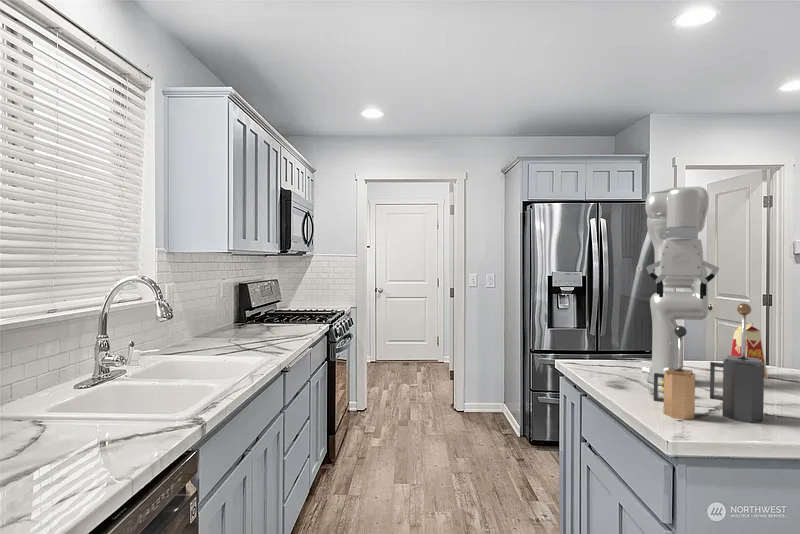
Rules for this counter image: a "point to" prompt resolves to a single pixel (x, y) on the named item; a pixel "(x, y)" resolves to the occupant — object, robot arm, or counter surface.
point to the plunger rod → (743, 325)
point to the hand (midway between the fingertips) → (681, 297)
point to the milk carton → (749, 344)
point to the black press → (740, 388)
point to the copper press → (677, 393)
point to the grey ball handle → (680, 343)
